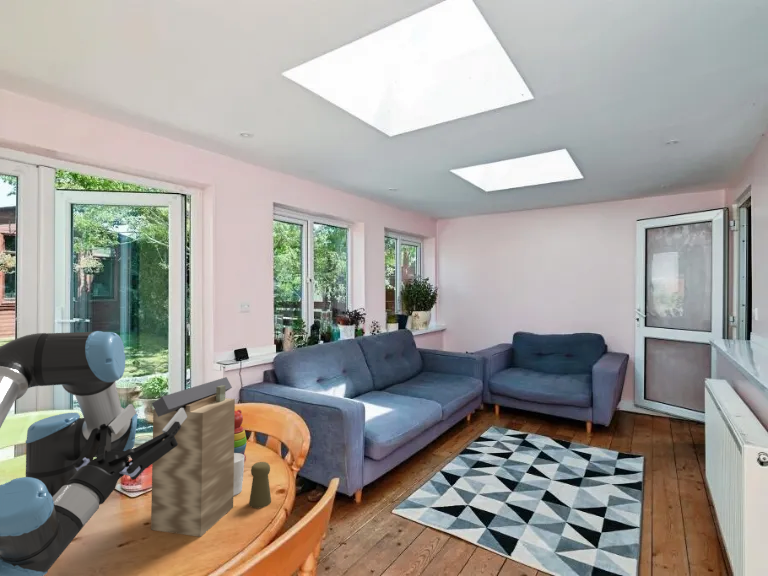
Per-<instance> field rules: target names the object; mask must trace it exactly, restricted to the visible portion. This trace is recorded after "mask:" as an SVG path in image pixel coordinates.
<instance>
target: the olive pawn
mask: <svg viewBox="0 0 768 576" xmlns="http://www.w3.org/2000/svg"><path fill="white" fill-rule="evenodd" d="M270 472H271V466H270V464H269V463H268V462H266V461H259V462H256V463H254V464H253V465H252V466H251V470H250V474H251V476H252V480H251V482H252V483H251V489H250V497H249V502H248V506H249V507H250V508H252V509H262V508H265V507H268V506H269V505H270V504H271V503H272V497H271V488H270V481H269V475H270Z"/></svg>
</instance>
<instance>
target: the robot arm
mask: <svg viewBox="0 0 768 576" xmlns="http://www.w3.org/2000/svg"><path fill="white" fill-rule="evenodd" d="M124 345H125V344H124V342H123V340H122V338H121V336H120V335H119V334H118V333H115V332H112V331H101V330H96V331H77V332H73V331H72V332H54V333H53V332H52V333H51V332H50V333H49V332H48V333H47V332H43V333H42V332H39V333H32V334H31V333H30V334H27V335H24V336H20V337H18V338H15V339H13V340H11V341H9V342H6V343H5V344H3V345H1V346H0V429H1V428H2V426H3V424H4V422H5V420H6V418H7V416H8V414H9V412H10V411H11V408H12V407H13V405H14V403H15V402H16V401H17V400H19V399H20V398H22V397H23V396H24V395H25V394H26V393H27V391H28V389H30V388H34V387H45V386H62V388H63V389H64V391H66V392H67V393H68V394H71V395H73V396H75V399H76V401H77V404H78V406H79V409H80V412H81V413H82V416H83V417H81V414H79V413H78V412H66V413H60V414H56V415H52V416H47V417H44V418H41V419H40V420H38V421H35V422H34V423H32V424H31V425H29V427H28V428H27V433H26V440H25V453H26V454H25V476H24V477H23V476H22V477H17V478H13V479H11V480H10V481H8V482H6V483H2V484H0V576H46V575H47V573H48V572H49V570H50V569H51V567H53V565H54V564H55V563H56V561H58V560H59V558H60V557H61V555H62V554H63V552H65V550H66V549H67V548H68V547H69V546H70V544H71V543H72V542H73V540H74V539H75V538H76V536H77V535H78V534H79V533H80V532H81V530H82V529H83V528H84V526H85V525H86V524H87V523H88V522H89V521H90V519H91V518H92V517H93V516H94V514H95V513H96V512H97V511H98V510H99V508H100V506H101V505H102V504H104V503H105V501H106V500H107V499H108V498H109V496H110V495H112V493H114V491H115V489H116V488H117V483H118V481H119V479H121V478H123V476H129V478H130V479H131V480H135V479H137V478H138V477H139V476H140V475H141V474H142V473H143V472H144V471H145V470H146V469H148V468H149V467H150V466H152V464H153V463H154V462H156V461H157V460H158V459H160V458H161V457H162V456H164V455H165V454H166V453H168V452H169V451H170V450H172V449H173V448H175V447H176V446H177V445H178V443H177V441H176V439H175V437H174V436H175V435H176V433H177V432H178V431H179V430H180V428H181V424H182V423H183V422H184V420H185V419H186V418H187V415H186V412H185V410H184V408H180V409H179V410H178V412H177V413H176V414H175V415H174V416H173V418H172V419H171V420H170V421H169V423H168V424H167V425H166V426H165V427H164V429H163V430H162V432H163V434H161V435H159V436H157V437H155V438H153V437H152V438H151V439H149V440H147V441H146V442H143V443H142V444H140V445H138V446H136V447H135V441H136V433H137V425H138V414H137V412H138V411H136V409H135V406H134V405H133V403H129V404H128V405H127V406H126V407H125V408H124V407H122V405H121V401H120V396H119V392H118V389H117V385H116V381H119V380H120V379H122V377H123V376H124V372H125V369H126V353H125V346H124ZM163 439H164V440H163ZM133 447H134V448H133ZM132 448H133V449H132ZM130 458H131V460H130Z"/></svg>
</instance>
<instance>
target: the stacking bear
mask: <svg viewBox="0 0 768 576" xmlns="http://www.w3.org/2000/svg"><path fill="white" fill-rule="evenodd" d="M243 420H244V419H243V414H242V410H241V409H237V410H235V421H234V453H240V454H243V455H244V463H245V462H246V460H247V458H246V457H247V456H246V454H245V451H246V448H247V441H248V440H247V436H246V430H245V428H244V427H243V426H242V425H243Z"/></svg>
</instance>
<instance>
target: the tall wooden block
mask: <svg viewBox="0 0 768 576" xmlns="http://www.w3.org/2000/svg"><path fill="white" fill-rule="evenodd" d="M235 407H236V399H235V398H229V397H227V398H226V392H225V385H221V386H218V387H216V394H214V395H212V396H209V397H207V398H204V399H202V400H199V401H196V402H194V403H191V404H189V405H186V407H184V410H185V412H186V415H187V418H186V419H185V420H184V422H183V423H182V424H181V428H180V430H179V431H178V432H177V433H176V435H175V436H174V437H175V439H176V441H177V443H178V445H177V446H176V447H175V448H173V449H172V450H170V451H169V452H168V453H166V454H165V455H164V456H162V457H161V458H160V459H158V460H157V461H156V462H154V463H153V464H151V467H152V468H151V510H150V511H151V514H150V519H151V520H150V530H151V531H158V532H163V533H172V534H179V535H187V536H193V537H200V538H201V537H202V536H203V535H204V534H206V533H207V532H208V531H209V530H210V529H211V528H212V527H214V525H216V524H217V522H219V521H220V520H221V519H222V518H223V517H224V516H226V515H227V513H229V512H230V511H231V510H232V509H233V508H234V496H233V487H234V421H235V411H236V409H235ZM178 410H179V409H178ZM178 410H176V411H173V412H170V413H167V414H165V415H162V416H159V417H158V415H157V413H156V411H155V409H154V408H153V410H152V414H153V415H152V417H153V418H152V439H153V438H155V437H157V436H159V435H161V434H163V432H162V430H163V429H164V427H165V426H166V425H167V424H168V423H169V421H170V420H171V419H172V418H173V416H174V415H175V414H176V413H177V412H178ZM163 440H164V439H163ZM206 531H207V532H206Z"/></svg>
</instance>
